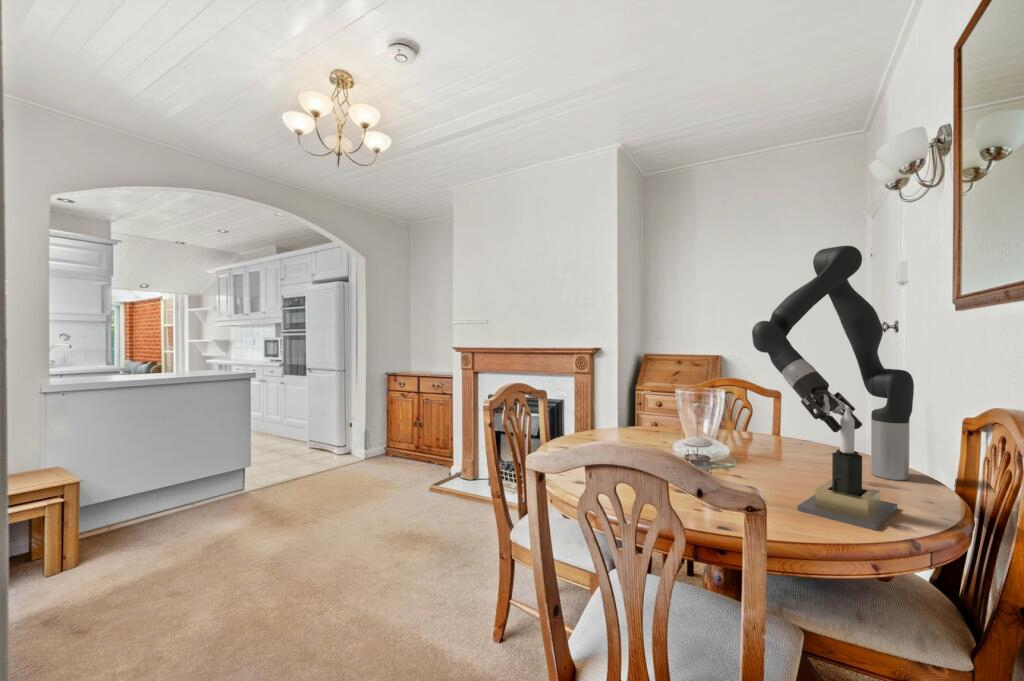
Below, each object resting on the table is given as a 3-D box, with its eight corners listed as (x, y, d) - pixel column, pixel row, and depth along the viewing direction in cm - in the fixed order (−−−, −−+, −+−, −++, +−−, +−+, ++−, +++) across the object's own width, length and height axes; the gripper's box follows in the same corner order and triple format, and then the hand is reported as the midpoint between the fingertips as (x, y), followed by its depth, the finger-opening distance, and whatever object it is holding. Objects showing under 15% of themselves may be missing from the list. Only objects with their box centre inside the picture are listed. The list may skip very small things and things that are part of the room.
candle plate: (824, 492, 132) (824, 474, 132) (897, 508, 120) (897, 489, 120) (797, 510, 119) (797, 490, 119) (875, 530, 107) (875, 508, 107)
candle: (863, 506, 118) (864, 406, 118) (850, 509, 116) (851, 408, 116) (843, 499, 123) (844, 404, 123) (829, 502, 121) (830, 405, 121)
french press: (721, 490, 134) (721, 403, 134) (704, 501, 126) (704, 407, 126) (688, 483, 141) (688, 399, 141) (669, 492, 133) (669, 404, 133)
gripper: (796, 371, 124) (843, 422, 113) (830, 369, 130) (877, 417, 119) (778, 389, 129) (820, 440, 118) (811, 386, 135) (854, 434, 124)
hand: (849, 428), depth 119 cm, fingers open, 8 cm apart
